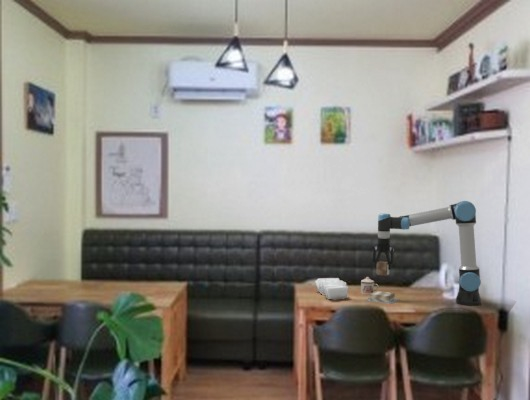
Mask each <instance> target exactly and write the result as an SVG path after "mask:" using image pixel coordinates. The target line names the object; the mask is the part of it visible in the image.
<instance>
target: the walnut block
mask: <svg viewBox="0 0 530 400" xmlns="http://www.w3.org/2000/svg"><path fill="white" fill-rule="evenodd" d="M387 264H388V261H385V260H382V261H381V260H379V262H377V268H376V275H377V276H384V277H385V276H388V275H387Z"/></svg>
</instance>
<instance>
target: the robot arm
mask: <svg viewBox="0 0 530 400" xmlns="http://www.w3.org/2000/svg"><path fill="white" fill-rule="evenodd" d="M476 212H477V210H476V207H475V205H474V203H472V202H471V201H468V200H462V201H458V202H457V203H454V204H449V206H446V207H441V208H437V209H431V210H426V211H423V212H422V211H421V212H416V213H412V214H407V215H400V216H394V217H393V216H391V214H390V213H378V218H377V237H378V238H377V245H376V246H373V247H372V251H373V252H372V253H373V254H372V262H373V263H375V264H374V265H375V266H374V267H375V269H377V262H379V261H380V258H381V256H382V253H384V254H385V257H386V260H387V261H386V262H388V264H387V275H386V276H389V275H390V270H391V269H392V265H393V264H395V247H391V239H390V238H391V237H390V236H391V229H392V230H409V229H410V227H413V226H415V227H416V226H418V225H423V224H424V225H425V224H430V223H434V222H435V223H436V222H441V221H447V220H450V219H451V220H452V221H454V220H455V225H457V226H458V234H459V235H458V236H459V251H460V252H459V254H460V267H459V268H458V273H459V274H458V276H459V281H458V292H457V294H456V298H455V303H456V304H459V305H464V306H481V305H482V298H481V295H480V292H479V291H480V287H481V284H482V281H481V280H482V279H481V275H480V274H481V273H480V272H481V271H480V267H479V266H478V265H477V257H476V254H477V253H476V242H475V241H476V240H475V228H474V227H475V225H476V224H477V215H476ZM377 250H378V252H377ZM389 252H390V253H389Z"/></svg>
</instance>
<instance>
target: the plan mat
mask: <svg viewBox="0 0 530 400" xmlns="http://www.w3.org/2000/svg"><path fill="white" fill-rule="evenodd" d="M364 301H367V302H375V303H381V304H382V303H383V304H394V303H397V302H398V301H400V299H399V298H394V300H392V301H391V302H389V303H387V302H379V301H371V300H370V297H369V298H367V299H365V300H364Z"/></svg>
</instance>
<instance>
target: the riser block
mask: <svg viewBox="0 0 530 400" xmlns="http://www.w3.org/2000/svg"><path fill="white" fill-rule="evenodd" d="M395 297H396V296H395V292H387V291H378V290H377V291H374V293H372V294H370V295H369V298H370V300H371V301H370V302H373V301H379V302H378V303H381V302H387V303H386V304H389V302H391V301H392V300H394V299H396V298H395Z"/></svg>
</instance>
